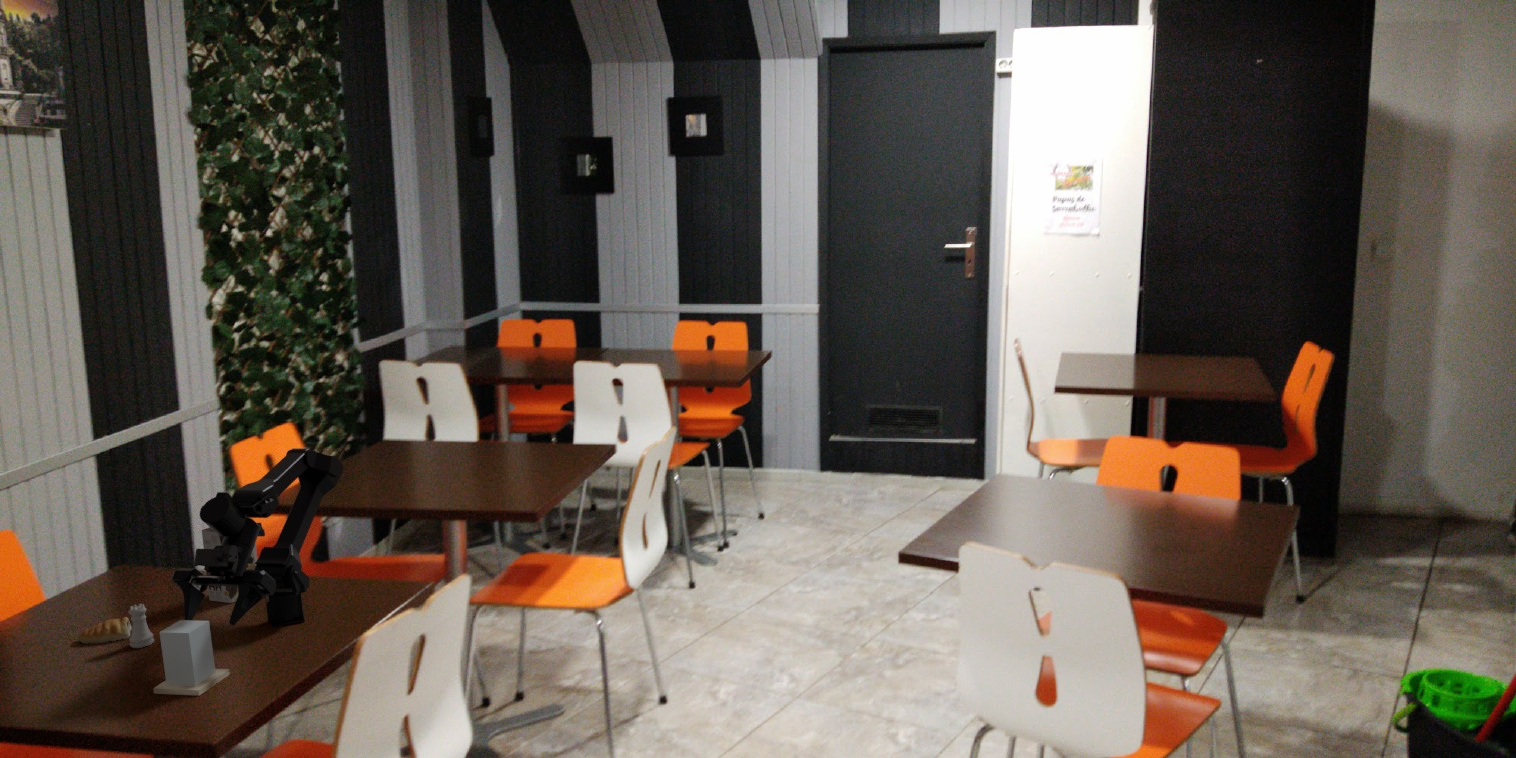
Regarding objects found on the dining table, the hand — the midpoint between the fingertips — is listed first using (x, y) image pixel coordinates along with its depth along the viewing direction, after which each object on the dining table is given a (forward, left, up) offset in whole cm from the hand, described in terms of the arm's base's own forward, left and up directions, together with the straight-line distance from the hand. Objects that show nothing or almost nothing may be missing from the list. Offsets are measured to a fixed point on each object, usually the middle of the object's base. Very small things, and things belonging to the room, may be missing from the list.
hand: (208, 623), depth 225 cm
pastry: (+20, -28, -9) cm, 36 cm away
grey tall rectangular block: (+4, +6, -8) cm, 10 cm away
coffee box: (-3, -42, -9) cm, 44 cm away
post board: (+4, +6, -9) cm, 11 cm away
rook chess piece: (+14, -20, -9) cm, 26 cm away
